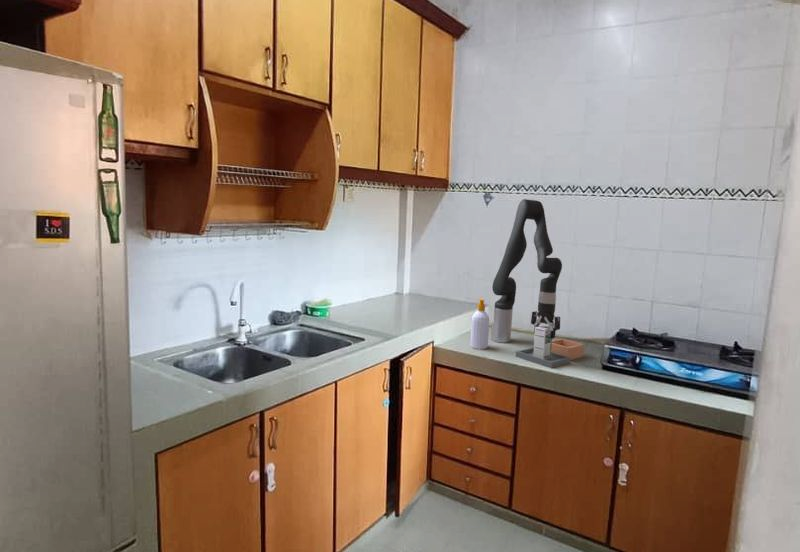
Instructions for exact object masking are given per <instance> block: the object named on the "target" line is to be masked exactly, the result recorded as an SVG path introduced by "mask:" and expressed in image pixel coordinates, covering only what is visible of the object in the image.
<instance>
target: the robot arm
mask: <svg viewBox="0 0 800 552" xmlns="http://www.w3.org/2000/svg"><path fill="white" fill-rule="evenodd" d="M517 206H518V207H517V210H516V213H515V218H514V222H513V226H512V230H511V232H510V236H509V239H508V241H507V245H506V248H505V250H504V255H503V257H502V260H501V263H500V265H499V268H498V270H497V272H496V274H495V277H494V279H493V281H492V286H491V287H492V288H491V289H492V292H493V294H495V296H500V298H499V299H498V300H496V301H495V302H494V309H493V321H492V322H491V332H490V333H491V334H490V340H492V341H493V342H497V343H504V344H505V343H511V338H512V337H511V336H512V324H513V323H512V322H513V308H514V304H515V301H516V294H517V284H516V283H517V282H516V281H515V279H514V278H513V277H511V276H510V274H511V273H512V271H514V269H515V268H516V267H517V266H518V265H519V263H520V262H521V261H522V260H523V258H524V255H525V252H526V250H527V245H528V244H527V243H528V242H527V238H526V235H525V230H524V229H525V223H526V221H527V220H530V221H531V220H533V221H534V222H535V225H536V227H535V228H536V229H535V232H534V235H533V244H534V248H535V250H536V254H537V256H536V258H537V263H536V264H537V266H536V267H537V269H538V271H539V272H540V273H541V274H548V276H546V277H544V278H542V279H541V280H540V285H539V294H538V303H537V304H538V305H537V310H536V311H531V318H530V319H531V320H530V324H531V325H533V326H534V328H533V333H534V334H535V327H539V326H541V324H545V325H547V326H548V327H550V329H551V332H550V338H551V339H552V340H554V339H555V337H556V331H559V330H560V329H561V317H560V316H556V315H555V312H556V304H557V303H556V301H557V283H558V280H559V277H560V275H561V273H562V269H563V263H562V260H561V258H559V257H549V256H551V255H552V254H553V247H552V243H551V240H550V237H549V233H548V229H547V228H548V227H547V220H546V213H545V209H544V206H543V203H542V202H541V201H539V200H537V199H536V200H534V199H528V198H527V199H526V198H524V199H521V201H520V202H519V203H518V205H517Z"/></svg>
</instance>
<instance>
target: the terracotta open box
mask: <svg viewBox="0 0 800 552" xmlns="http://www.w3.org/2000/svg"><path fill="white" fill-rule="evenodd" d="M584 347H585V344H583V343H580V342H576V341H573V340H569V339H565V338H558V339H552V344H551V352H554V353H557V354H560V355H564V356H567V357H571V361H573V360H575V359H579V358H583V357H584Z"/></svg>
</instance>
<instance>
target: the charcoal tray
mask: <svg viewBox="0 0 800 552" xmlns="http://www.w3.org/2000/svg"><path fill="white" fill-rule="evenodd" d="M533 353H534V346H533V347H528V348H524V349H520V350H519V349H518V350H516V351H515V358H518V357H519V359H521V358H522V360H524V359H525V361H529V362H531V363H534V364H537V365H540V364H541V365H540V366H544V367H547V368H550V369H554V368H557V366H558V367H560V365H561V366H564V364H565V365H569V364H571V361H572V360H571V357H567V356H564V355H560V354H557V353H554V352H551V358H549V359H542V358H538V357H535V356H533ZM568 363H569V364H568Z"/></svg>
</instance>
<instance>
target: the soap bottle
mask: <svg viewBox="0 0 800 552" xmlns="http://www.w3.org/2000/svg"><path fill="white" fill-rule="evenodd" d="M478 302H479V303H478V305H477V310H476V311H475V312H474V313H473V314H472V316H471V326H470V342H469V346H470V347H471V348H473V349H477V350H485V349H487V348H488V347H489V331H490V316H489V314H488V313H487V312H486V311H485V310H486V308H485V307H486V305H485V303H484V302H485V299H483V298H482V297H480V299H478Z"/></svg>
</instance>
